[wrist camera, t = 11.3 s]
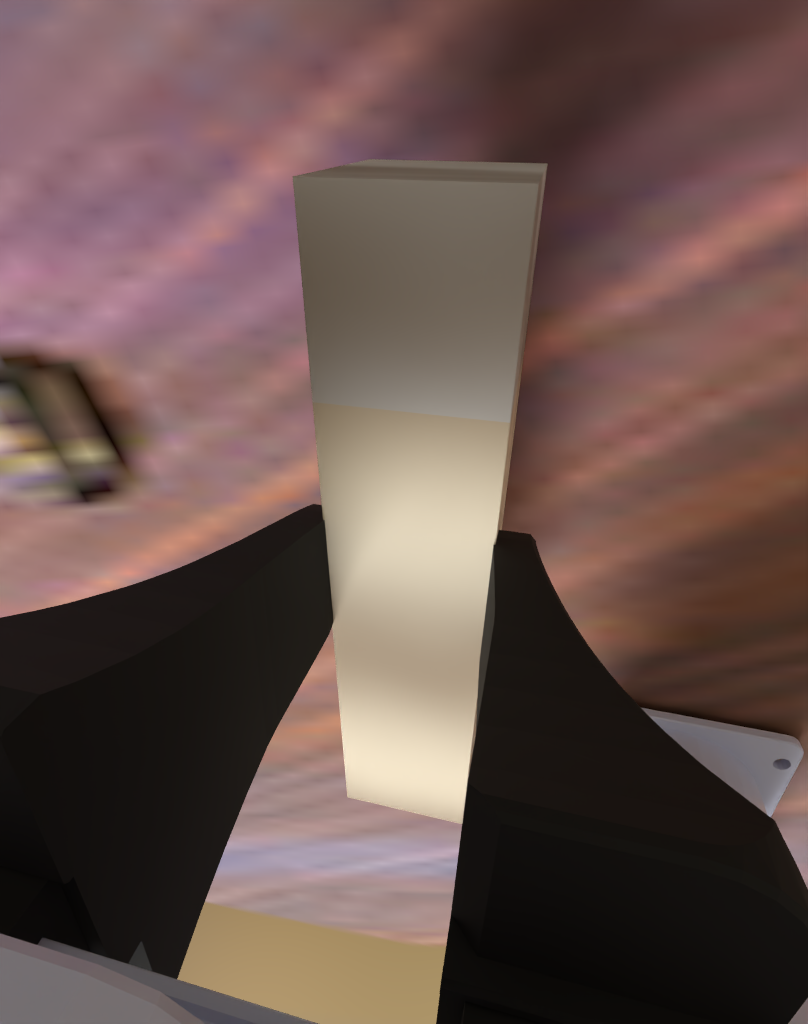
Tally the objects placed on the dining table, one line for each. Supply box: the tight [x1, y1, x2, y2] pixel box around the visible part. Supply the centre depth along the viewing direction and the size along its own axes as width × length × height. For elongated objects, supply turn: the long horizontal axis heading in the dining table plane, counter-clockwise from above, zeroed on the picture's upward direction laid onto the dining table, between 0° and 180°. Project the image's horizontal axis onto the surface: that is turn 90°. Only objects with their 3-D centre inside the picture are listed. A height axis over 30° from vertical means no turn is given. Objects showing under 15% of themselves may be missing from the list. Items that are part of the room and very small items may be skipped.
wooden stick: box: [293, 159, 548, 824], centre depth 12 cm, size 14×3×4 cm, turn 178°
